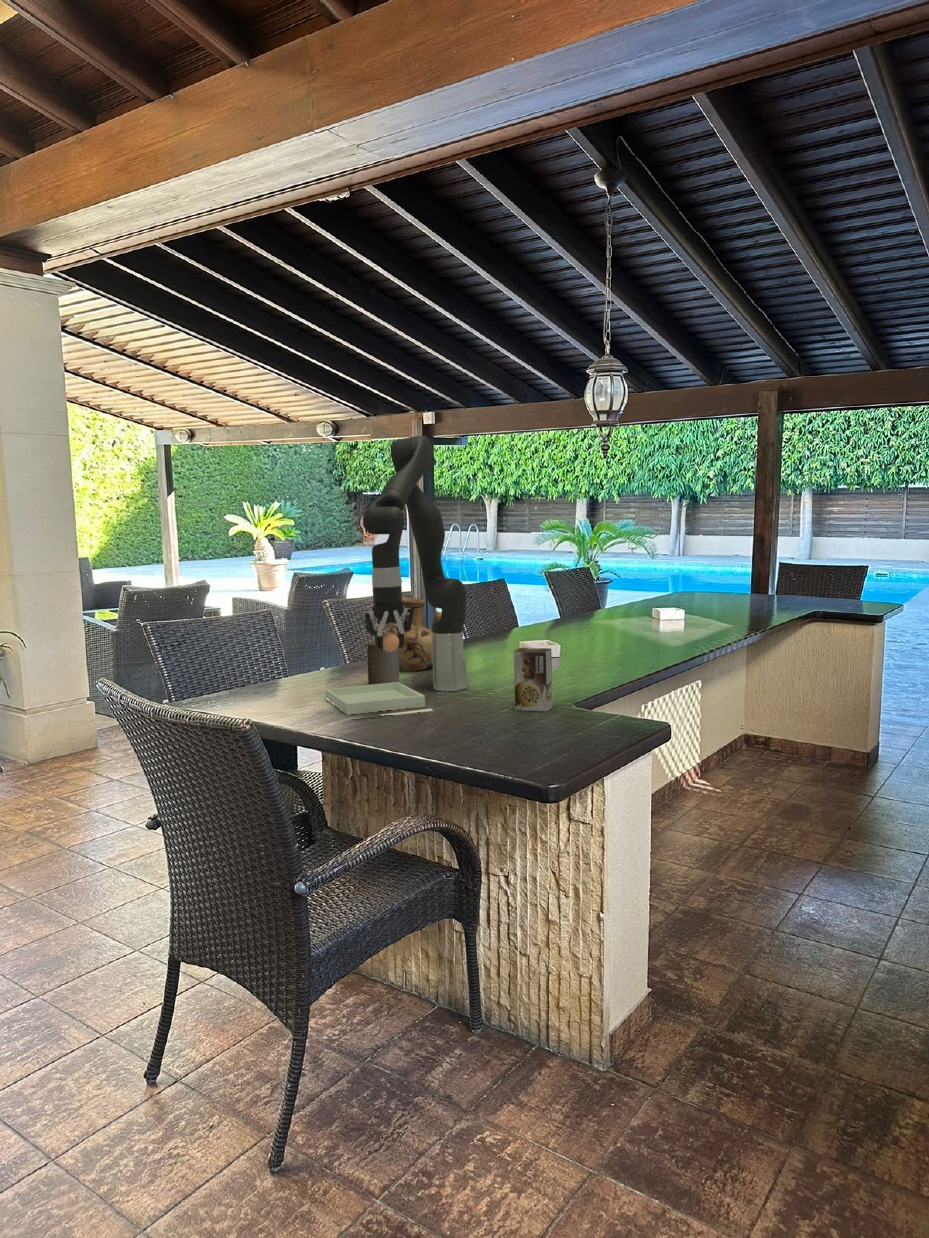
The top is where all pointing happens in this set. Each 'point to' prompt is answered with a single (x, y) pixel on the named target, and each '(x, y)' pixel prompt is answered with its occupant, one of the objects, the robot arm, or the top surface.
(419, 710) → the strip
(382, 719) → the top surface
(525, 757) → the top surface
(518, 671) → the coffee box
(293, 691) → the top surface
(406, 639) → the ceramic vessel
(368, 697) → the tray
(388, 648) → the ball
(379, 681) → the pillar candle
